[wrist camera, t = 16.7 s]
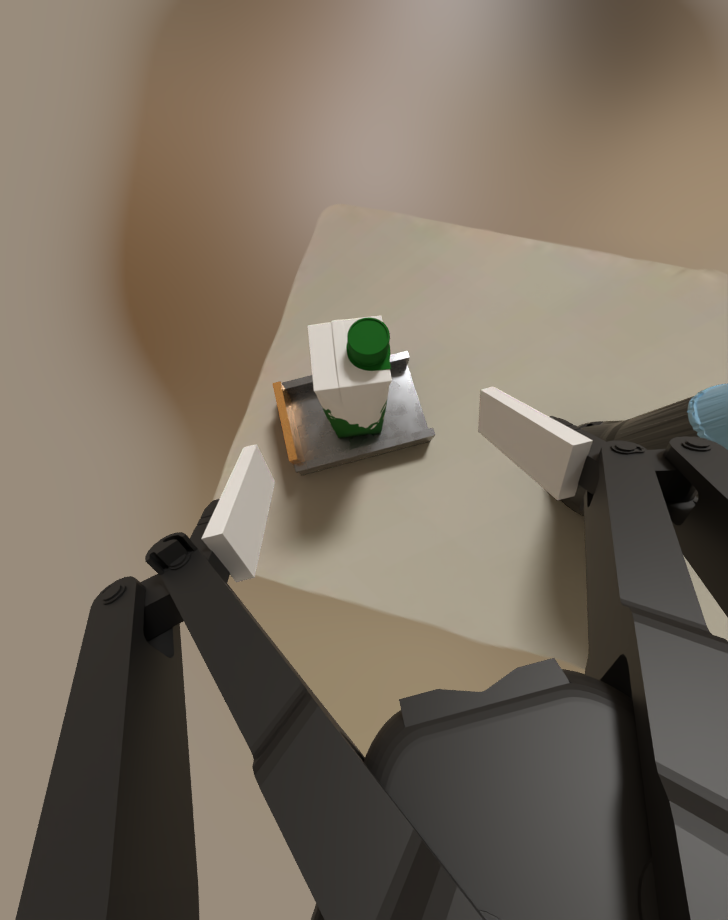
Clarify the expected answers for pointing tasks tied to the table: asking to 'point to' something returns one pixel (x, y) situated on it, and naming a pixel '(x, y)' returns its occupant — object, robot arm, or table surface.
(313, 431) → the rail channel
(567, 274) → the table surface
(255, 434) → the table surface
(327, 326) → the soya milk
